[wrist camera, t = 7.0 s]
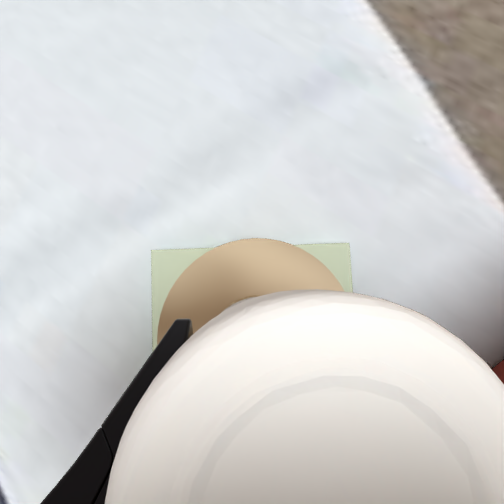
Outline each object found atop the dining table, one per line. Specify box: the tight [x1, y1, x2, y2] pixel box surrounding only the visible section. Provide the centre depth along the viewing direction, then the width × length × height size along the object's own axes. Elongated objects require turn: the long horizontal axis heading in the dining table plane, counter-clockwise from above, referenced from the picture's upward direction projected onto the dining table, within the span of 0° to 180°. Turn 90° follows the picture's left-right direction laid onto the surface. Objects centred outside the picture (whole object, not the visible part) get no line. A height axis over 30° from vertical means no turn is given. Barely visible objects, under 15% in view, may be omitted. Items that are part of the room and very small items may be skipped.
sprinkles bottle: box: [105, 289, 504, 504], centre depth 10 cm, size 5×5×13 cm
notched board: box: [151, 243, 353, 351], centre depth 22 cm, size 14×12×1 cm
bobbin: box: [157, 238, 345, 345], centre depth 20 cm, size 10×10×3 cm
